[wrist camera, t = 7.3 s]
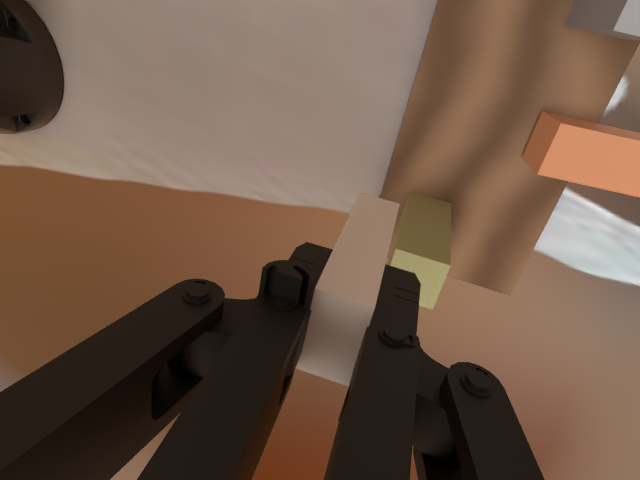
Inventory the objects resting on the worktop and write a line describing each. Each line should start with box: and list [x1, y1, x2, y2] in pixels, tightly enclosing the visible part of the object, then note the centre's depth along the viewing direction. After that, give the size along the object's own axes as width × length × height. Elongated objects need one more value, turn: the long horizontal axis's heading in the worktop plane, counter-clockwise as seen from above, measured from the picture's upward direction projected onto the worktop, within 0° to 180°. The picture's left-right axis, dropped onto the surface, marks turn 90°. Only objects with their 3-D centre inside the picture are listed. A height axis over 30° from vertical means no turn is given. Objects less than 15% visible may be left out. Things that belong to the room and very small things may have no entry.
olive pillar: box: [388, 192, 451, 309], centre depth 38 cm, size 4×4×12 cm
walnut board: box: [380, 0, 640, 295], centre depth 38 cm, size 15×31×1 cm, turn 169°
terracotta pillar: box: [522, 111, 640, 197], centre depth 35 cm, size 4×4×12 cm
